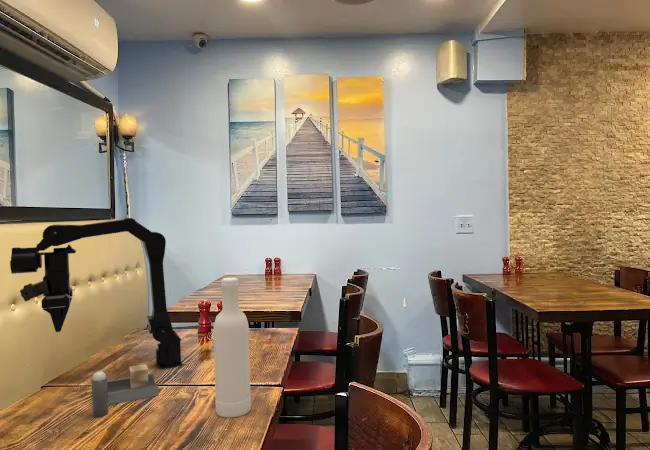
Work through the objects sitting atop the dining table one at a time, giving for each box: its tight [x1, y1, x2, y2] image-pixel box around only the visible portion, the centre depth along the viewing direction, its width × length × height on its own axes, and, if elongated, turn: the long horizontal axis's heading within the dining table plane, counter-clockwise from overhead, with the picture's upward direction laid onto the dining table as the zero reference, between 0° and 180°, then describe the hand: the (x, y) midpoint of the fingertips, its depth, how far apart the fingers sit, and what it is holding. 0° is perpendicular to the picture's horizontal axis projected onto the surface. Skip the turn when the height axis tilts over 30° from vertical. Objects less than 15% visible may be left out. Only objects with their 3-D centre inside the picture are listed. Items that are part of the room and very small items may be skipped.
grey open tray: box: [94, 370, 159, 406], centre depth 117 cm, size 14×10×6 cm
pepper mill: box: [91, 370, 109, 418], centre depth 105 cm, size 3×3×10 cm
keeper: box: [128, 364, 149, 389], centre depth 118 cm, size 4×4×5 cm
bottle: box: [213, 277, 252, 418], centre depth 105 cm, size 8×8×30 cm
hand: (59, 328), depth 127 cm, fingers open, 9 cm apart
